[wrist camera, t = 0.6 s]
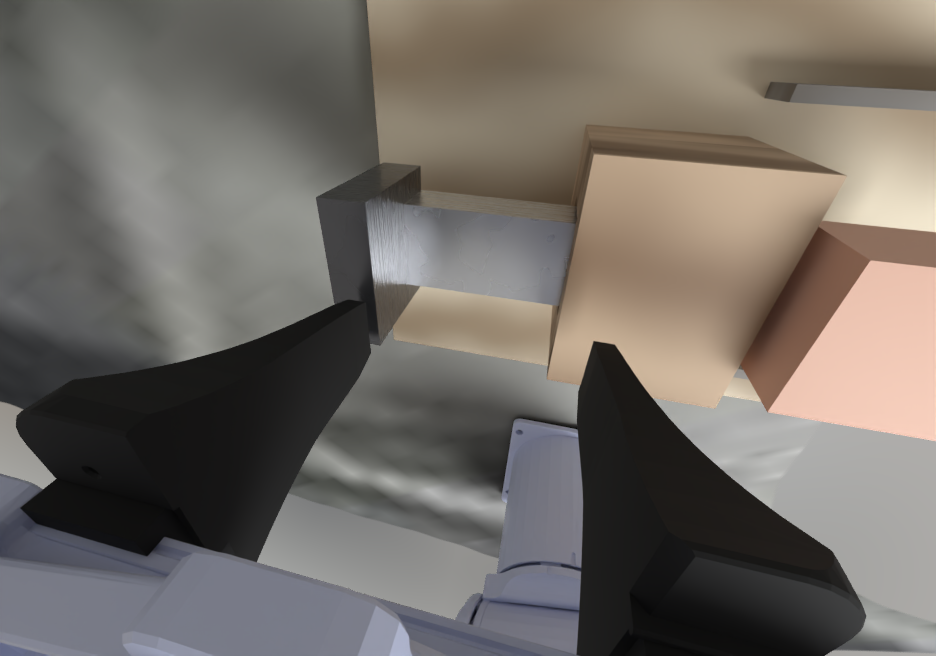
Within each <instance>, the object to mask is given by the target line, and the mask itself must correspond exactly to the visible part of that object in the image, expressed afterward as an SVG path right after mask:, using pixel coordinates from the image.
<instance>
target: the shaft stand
mask: <svg viewBox="0 0 936 656" xmlns="http://www.w3.org/2000/svg"><path fill="white" fill-rule="evenodd" d="M367 11H368V24H369V36H370V48H371V61H372V73H373V86H374V98H375V111H376V123H377V136H378V148H379V160H380V164H382V163H383V162H386V163H396V164H407V165H417V166H421V190H427V191H437V192H446V193H456V194H465V195H475V196H484V197H494V198H503V199H513V200H522V201H532V202H541V203H551V204H560V205H569V206H577V222H576V227H575V232H574V237H573V242H572V247H571V251H570V256H569V261H568V266H567V271H566V276H565V281H564V286H563V290H562V295H561V300H560V305H559V306H555V305H548V304H541V303H534V302H527V301H520V300H514V299H507V298H500V297H493V296H486V295H479V294H472V293H465V292H458V291H451V290H445V289H438V288H431V287H424V286H420V288H419V289H418V291H417V292H416V293H415V295H414V296H413V298H412V299H411V301H410V302H409V304H408V305H407V307H406V308H405V310H404V311H403V313H402V314H401V315H400V317H399V318H398V320H397V321H396V323H395V324H394V326H393V335H394V340H398V341H404V342H410V343H416V344H422V345H428V346H434V347H440V348H446V349H451V350H457V351H463V352H469V353H475V354H481V355H487V356H493V357H499V358H505V359H511V360H517V361H523V362H529V363H534V364H540V365H546V366H548V370H547V379H548V380H553V381H559V382H565V383H571V384H576V385H581V382H582V378H583V375H584V372H585V368H586V365H587V361H588V358H589V355H590V351H591V348H592V344H593V341H598V342H603V343H609V344H615V345H616V347H617V348H618V350H619V351H620V353H621V354H622V356H623V357H624V359H625V360H626V362H627V363H628V365H629V366H630V368H631V369H632V371H633V372H634V374H635V375H636V377H637V378H638V379H639V381H640V382H641V384H642V385H643V386H644V388H645V389H646V390H647V392H648V393H649V394H650V396H651V397H652V398H657V399H662V400H668V401H674V402H680V403H685V404H691V405H697V406H703V407H708V408H714V409H715V408H716V406H717V405H718V403H719V401H720V399H721V397H722V396H723V395H724V396H730V397H736V398H742V399H748V400H754V401H760V402H761V400H760V398H759V396H758V395H757V393H756V391H755V389H754V388H753V386H752V384H751V382H750V381H749V379H748V377H747V375H746V373H745V372H744V370H743V368H742V366H741V365H740V364H741V362H742V361H743V359H744V357H745V355H746V353H747V352H748V350H749V348H750V346H751V345H752V343H753V341H754V339H755V338H756V336H757V334H758V332H759V331H760V329H761V327H762V325H763V324H764V322H765V320H766V318H767V316H768V315H769V313H770V311H771V309H772V308H773V306H774V304H775V302H776V301H777V299H778V297H779V295H780V294H781V292H782V290H783V288H784V287H785V285H786V283H787V281H788V280H789V278H790V276H791V274H792V272H793V271H794V269H795V267H796V265H797V264H798V262H799V260H800V258H801V257H802V255H803V253H804V251H805V250H806V248H807V246H808V244H809V243H810V241H811V239H812V237H813V235H814V234H815V232H816V230H817V228H818V227H819V225H820V223H821V221H831V222H841V223H850V224H860V225H870V226H880V227H890V228H900V229H909V230H919V231H929V232H936V0H367Z"/></svg>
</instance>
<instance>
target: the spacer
mask: <svg viewBox="0 0 936 656" xmlns="http://www.w3.org/2000/svg"><path fill="white" fill-rule="evenodd" d="M740 365H741V366H742V368H743V370H744V372H745V373H746V375H747V377H748V379H749V381H750V382H751V384H752V386H753V388H754V389H755V391H756V393H757V395H758V396H759V398H760V400H761V402H762V403H763V405H764V407H765V409H766V410H767V412H770V413H776V414H782V415H787V416H793V417H799V418H805V419H811V420H816V421H822V422H828V423H834V424H840V425H846V426H852V427H857V428H863V429H869V430H875V431H880V432H886V433H892V434H898V435H904V436H910V437H916V438H921V439H927V440H933V441H936V232H929V231H919V230H909V229H900V228H890V227H880V226H870V225H860V224H850V223H841V222H831V221H821V223H820V225H819V227H818V228H817V230H816V232H815V234H814V235H813V237H812V239H811V241H810V243H809V244H808V246H807V248H806V250H805V251H804V253H803V255H802V257H801V258H800V260H799V262H798V264H797V265H796V267H795V269H794V271H793V272H792V274H791V276H790V278H789V280H788V281H787V283H786V285H785V287H784V288H783V290H782V292H781V294H780V295H779V297H778V299H777V301H776V302H775V304H774V306H773V308H772V309H771V311H770V313H769V315H768V316H767V318H766V320H765V322H764V324H763V325H762V327H761V329H760V331H759V332H758V334H757V336H756V338H755V339H754V341H753V343H752V345H751V346H750V348H749V350H748V352H747V353H746V355H745V357H744V359H743V361H742V362H741V364H740Z"/></svg>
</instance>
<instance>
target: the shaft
mask: <svg viewBox="0 0 936 656" xmlns="http://www.w3.org/2000/svg"><path fill="white" fill-rule="evenodd" d="M316 201H317V206H318V212H319V218H320V223H321V229H322V235H323V241H324V246H325V252H326V258H327V263H328V269H329V275H330V280H331V286H332V292H333V297H334V303H335V304H337V303H340V302H342V301H345V300H348V299H349V300H355V301H361V302H366V310H367V319H368V329H369V339H370V344H375V345H381V343H382V342H383V340H384V339H385V338H386V336H387V335H388V333H389V332H390V330H391V329H392V327H393V326H394V324H395V323H396V321H397V320H398V318H399V317H400V315H401V314H402V313H403V311H404V310H405V308H406V307H407V305H408V304H409V302H410V301H411V299H412V298H413V296H414V295H415V293H416V292H417V291H418V289H419V288H420V286H424V287H431V288H438V289H445V290H451V291H458V292H465V293H472V294H479V295H486V296H493V297H500V298H507V299H514V300H520V301H527V302H534V303H541V304H548V305H555V306H559V305H560V300H561V295H562V290H563V286H564V281H565V276H566V271H567V266H568V261H569V256H570V251H571V247H572V242H573V237H574V232H575V227H576V222H577V206H569V205H560V204H551V203H541V202H532V201H522V200H513V199H503V198H494V197H484V196H475V195H465V194H456V193H446V192H437V191H427V190H421V166H417V165H407V164H396V163H386V162H383V163H382V164H380V165H378V166H376V167H374V168H372V169H370V170H368V171H366V172H364V173H362V174H360V175H358V176H356V177H354V178H353V179H351V180H349V181H347V182H345V183H343V184H341V185H339V186H337V187H335V188H333V189H331V190H329V191H327V192H325V193H323V194H322V195H320V196H318V197H316Z"/></svg>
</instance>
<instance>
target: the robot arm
mask: <svg viewBox="0 0 936 656" xmlns="http://www.w3.org/2000/svg"><path fill="white" fill-rule="evenodd" d="M370 354H371V348H370V339H369V329H368V319H367V310H366V302H361V301H355V300H349V299H348V300H345V301H342V302H340V303H337V304H335V305H333V306H331V307H328V308H326V309H324V310H322V311H320V312H318V313H316V314H313V315H311V316H309V317H307V318H305V319H303V320H300V321H298V322H296V323H294V324H292V325H289V326H287V327H285V328H282V329H280V330H278V331H275V332H273V333H270V334H268V335H266V336H263V337H261V338H258V339H255V340H253V341H250V342H247V343H244V344H241V345H238V346H235V347H232V348H229V349H226V350H223V351H220V352H216V353H212V354H209V355H205V356H201V357H197V358H194V359H190V360H186V361H182V362H178V363H173V364H169V365H164V366H159V367H154V368H149V369H143V370H138V371H132V372H126V373H119V374H112V375H105V376H98V377H91V378H83V379H75V380H72V381H70V382H68V383H66V384H65V385H63V386H62V387H60V388H58V389H57V390H55V391H53V392H52V393H50V394H49V395H47V396H45V397H44V398H42V399H41V400H39V401H37V402H36V403H34V404H32V405H31V406H29V407H28V408H26V409H24V410H23V411H21V412H20V413H19V414H18V415H17V419H16V428H17V430H18V433H19V435H20V437H21V438H22V439H23V441H24V442H25V443H26V445H27V446H28V447H29V448H30V449H31V450H32V451H33V452H34V454H35V455H36V456H37V457H38V458H39V459H40V460H41V462H42V463H43V464H44V465H45V466H46V467H47V469H48V470H49V471H50V472H51V473H52V474H53V475H54V477H55V478H57V479H56V480H55V481H53V482H52V483H51V484H50V485H48V486H47V487H46V488H45V489H41V488H40V487H38V486H37V485H35V484H33V483H30V482H28V481H24V480H21V479H18V478H14V477H10V476H7V475H3V474H0V656H825V655H826V654H828V653H829V652H831V651H833V650H834V649H836V648H838V647H839V646H841V645H843V644H844V643H846V642H847V641H849V640H851V639H852V638H853V637H854V636H855V635H856V634H857V633H859V632H860V631H861V629H862V628H863V625H864V622H865V619H866V614H865V611H864V608H863V606H862V604H861V602H860V600H859V598H858V596H857V594H856V593H855V591H854V589H853V587H852V585H851V583H850V582H849V580H848V578H847V576H846V574H845V573H844V571H843V569H842V567H841V565H840V563H839V562H838V560H837V559H836V557H835V555H834V554H833V552H832V551H831V550H830V549H828V548H827V547H825V546H824V545H822V544H821V543H820V542H818V541H817V540H815V539H814V538H812V537H811V536H809V535H808V534H806V533H805V532H803V531H802V530H800V529H799V528H797V527H796V526H794V525H793V524H792V523H790V522H789V521H787V520H786V519H784V518H783V517H781V516H780V515H779V514H777V513H776V512H774V511H773V510H772V509H770V508H769V507H768V506H766V505H765V504H764V503H762V502H761V501H760V500H759V499H757V498H756V497H755V496H753V495H752V494H751V493H749V492H748V491H747V490H746V489H744V488H743V487H742V486H741V485H739V484H738V483H737V482H736V481H734V480H733V479H732V478H731V477H730V476H728V475H727V474H726V473H725V472H724V471H723V470H722V469H720V468H719V467H718V466H717V465H716V464H715V463H714V462H712V461H711V460H710V459H709V458H708V457H707V456H706V455H705V454H704V453H702V452H701V451H700V450H699V449H698V448H697V447H696V446H695V445H694V444H693V443H692V442H691V441H690V440H689V439H688V438H687V437H686V436H685V435H684V434H683V433H682V432H681V431H680V430H679V429H678V428H677V426H676V425H675V424H674V423H673V422H672V421H671V420H670V419H669V418H668V416H667V415H666V414H665V413H664V412H663V410H662V409H661V408H660V407H659V406H658V405H657V403H656V402H655V401H654V400H653V398H652V397H651V396H650V394H649V393H648V392H647V390H646V389H645V388H644V386H643V385H642V384H641V382H640V381H639V379H638V378H637V377H636V375H635V374H634V372H633V371H632V369H631V368H630V366H629V365H628V363H627V362H626V360H625V359H624V357H623V356H622V354H621V353H620V351H619V350H618V348H617V347H616V345H615V344H609V343H603V342H598V341H593V344H592V348H591V351H590V355H589V358H588V361H587V365H586V368H585V372H584V375H583V378H582V382H581V385H580V388H579V392H578V410H577V427H578V429H573V428H568V427H563V426H557V425H552V424H547V423H542V422H536V421H531V420H526V419H516V420H514V422H513V428H512V435H511V441H510V447H509V454H508V460H507V466H506V473H505V479H504V485H503V492H502V500H503V501H504V502H507V506H506V512H505V519H504V526H503V533H502V540H501V547H500V554H499V561H498V567H497V574H487V575H486V580H485V585H484V591H483V594H480V593H477V594H473V595H472V596H471V597H470V598H469V599H468V600H467V602H466V603H465V605H464V606H463V607H462V609H461V610H460V611H459V613H458V615H457V617H456V619H455V620H453V619H449V618H446V617H443V616H439V615H436V614H432V613H429V612H425V611H422V610H418V609H414V608H411V607H408V606H404V605H400V604H397V603H394V602H390V601H386V600H383V599H380V598H376V597H373V596H369V595H366V594H362V593H359V592H355V591H353V590H351V589H348V588H344V587H341V586H338V585H334V584H330V583H327V582H324V581H320V580H317V579H313V578H309V577H306V576H302V575H299V574H296V573H292V572H289V571H285V570H282V569H278V568H275V567H271V566H267V565H264V564H260V563H257V560H258V557H259V555H260V553H261V551H262V548H263V546H264V544H265V541H266V539H267V537H268V534H269V532H270V530H271V528H272V526H273V523H274V521H275V519H276V517H277V515H278V513H279V511H280V509H281V506H282V504H283V502H284V500H285V498H286V496H287V494H288V492H289V490H290V488H291V486H292V484H293V482H294V480H295V478H296V476H297V474H298V472H299V470H300V468H301V467H302V465H303V463H304V461H305V459H306V457H307V456H308V454H309V452H310V450H311V448H312V446H313V445H314V443H315V441H316V439H317V438H318V436H319V435H320V433H321V432H322V430H323V428H324V427H325V426H326V424H327V423H328V421H329V420H330V418H331V417H332V416H333V414H334V413H335V411H336V410H337V408H338V407H339V406H340V404H341V403H342V401H343V400H344V398H345V397H346V396H347V394H348V393H349V391H350V390H351V388H352V387H353V385H354V384H355V382H356V381H357V379H358V378H359V376H360V374H361V372H362V370H363V368H364V366H365V364H366V362H367V360H368V358H369V356H370ZM519 430H521V431H519Z"/></svg>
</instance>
